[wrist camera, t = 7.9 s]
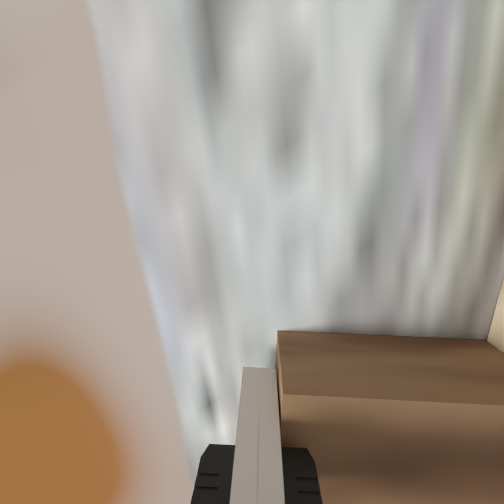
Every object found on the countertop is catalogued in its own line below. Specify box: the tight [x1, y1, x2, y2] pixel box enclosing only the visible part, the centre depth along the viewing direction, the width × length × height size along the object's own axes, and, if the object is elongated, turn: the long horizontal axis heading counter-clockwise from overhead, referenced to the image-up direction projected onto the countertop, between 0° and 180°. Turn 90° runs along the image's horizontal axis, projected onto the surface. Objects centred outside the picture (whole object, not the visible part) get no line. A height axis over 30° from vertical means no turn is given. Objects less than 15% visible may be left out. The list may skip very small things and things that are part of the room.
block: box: [275, 331, 504, 504], centre depth 13 cm, size 7×10×4 cm
